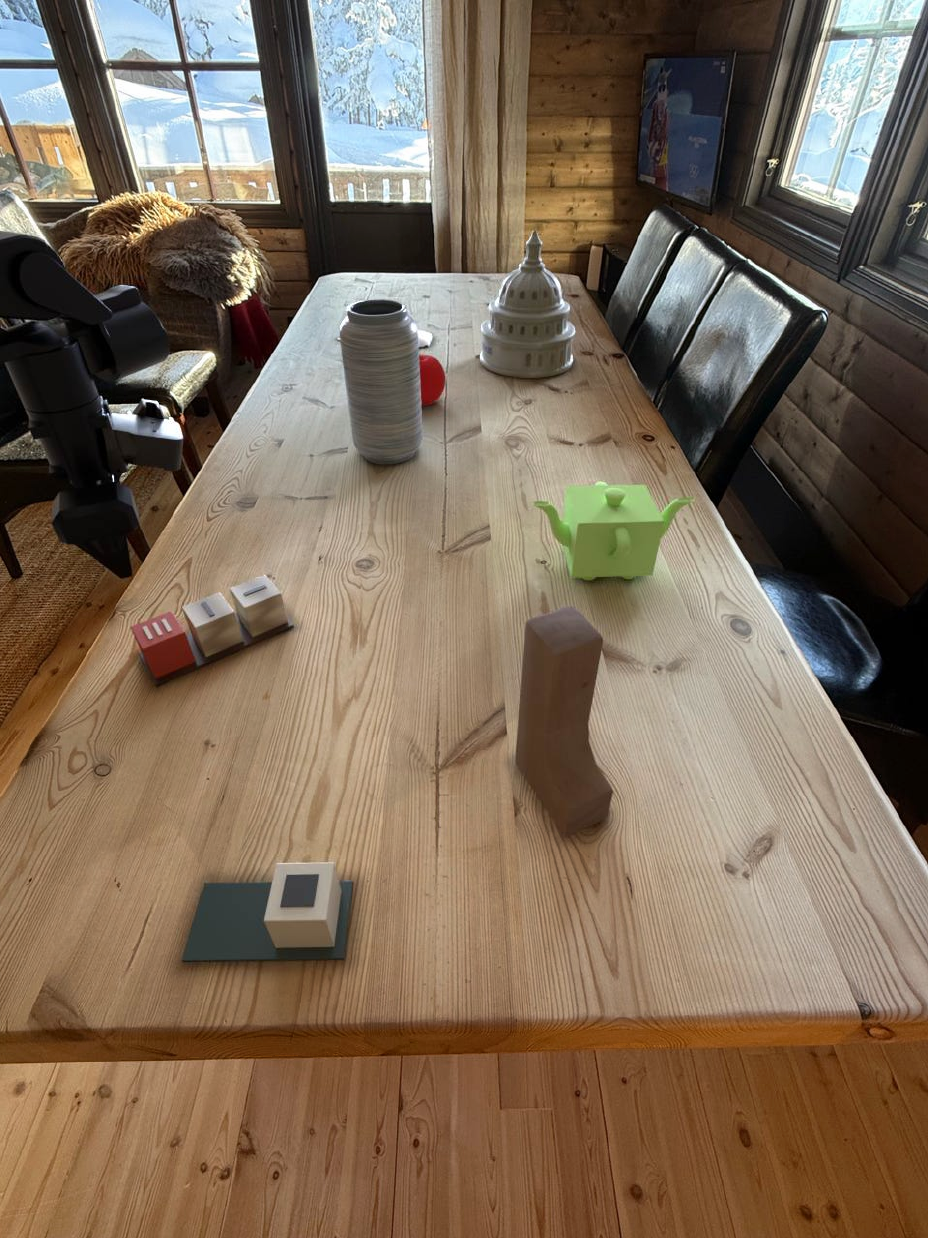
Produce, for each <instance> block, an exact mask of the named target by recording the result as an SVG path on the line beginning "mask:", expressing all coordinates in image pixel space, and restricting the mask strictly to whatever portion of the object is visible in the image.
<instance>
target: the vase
mask: <svg viewBox="0 0 928 1238" xmlns="http://www.w3.org/2000/svg"><path fill="white" fill-rule="evenodd" d="M346 315H347V316H346V317H345V318H344V319H343V321H342V322H341V324H340V327H339V333H338V334H339V338H340V340H339V341H340V342H339V343H340V351H341V357H342V358H341V359H342V366H343V374H344V382H345V388H346V399H347V406H348V407H347V408H348V415H349V422H350V423H349V424H350V431H351V438H352V439H351V440H352V443H353V446H354V447H355V449H356V450H357V451H358V452H359V453H360V454H361V455H362V456H363V457H364V458H365V460H367V461H368V462H370V463H373V464H376V465H387V466H388V465H397V464H401V463H405V462H406V461H408V460H410V459H412V457H414V455H415V454H416V452H417V451H418V449H419V448H420V447H421V445H422V443H423V439H424V431H423V429H424V428H423V427H424V426H423V410H422V409H423V408H422V407H423V406H421V385H420V365H419V355H420V347H419V344H418V330H419V329H418V325H417V323H416V322H415V320H414V319H413V317H412V316H411V315H409V314H408V309H407V305H406V304H405V303H404V302H401V301H399V300H394V299H386V298H373V299H372V298H371V299H365V300H364V299H363V300H360V301H356V302H354V303H351V304H350V305H348V306H347V308H346Z"/></svg>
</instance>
